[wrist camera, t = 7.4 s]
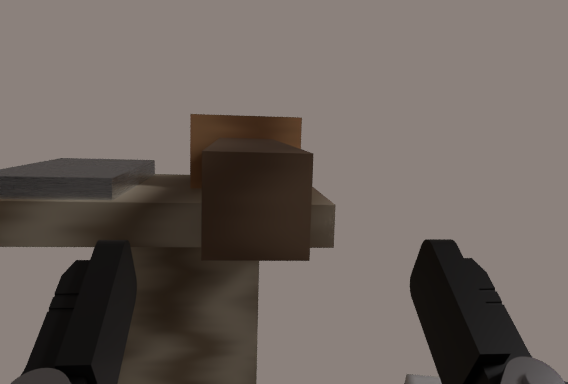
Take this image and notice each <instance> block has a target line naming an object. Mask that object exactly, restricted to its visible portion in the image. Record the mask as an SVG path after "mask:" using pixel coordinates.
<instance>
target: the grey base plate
mask: <svg viewBox="0 0 568 384" xmlns="http://www.w3.org/2000/svg"><path fill="white" fill-rule="evenodd" d="M154 166H155V164H154V160H117V159H72V158H71V159H70V158H60V159H55V160H49V161H44V162H39V163H33V164H28V165H22V166H17V167H11V168H6V169H1V170H0V199H43V200H114V199H115V198H117V197H119V196H120V195H122V194H124V193H125V192H127V191H129V190H130V189H132V188H134V187H135V186H137V185H139V184H141V183H142V182H144V181H146V180H147V179H149V178H151V177H152V176H154V175H155V167H154Z"/></svg>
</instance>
